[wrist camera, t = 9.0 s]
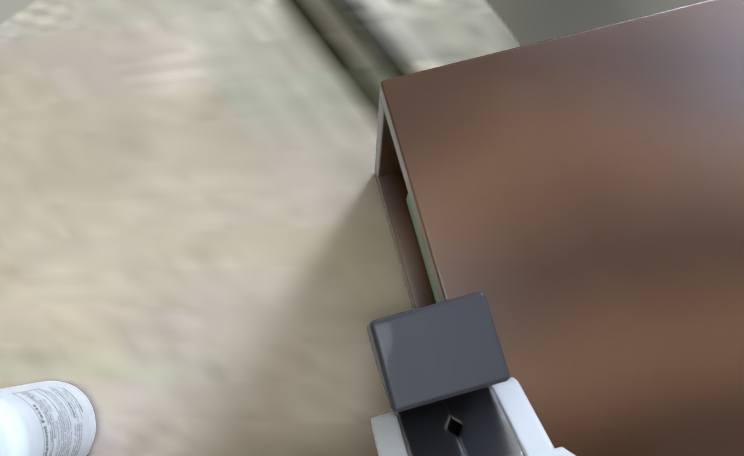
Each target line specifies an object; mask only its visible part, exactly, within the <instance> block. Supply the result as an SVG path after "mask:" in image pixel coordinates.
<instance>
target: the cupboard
mask: <svg viewBox="0 0 744 456" xmlns="http://www.w3.org/2000/svg"><path fill="white" fill-rule="evenodd" d="M375 175H376V179H377V182H378V186H379V189H380V193H381V196H382V200H383V203H384V207H385V211H386V214H387V218H388V221H389V225H390V228H391V232H392V235H393V239H394V242H395V246H396V249H397V253H398V256H399V260H400V264H401V267H402V271H403V274H404V278H405V281H406V285H407V288H408V292H409V295H410V299H411V302H412V306H413V309H417V308H421V307H425V306H428V305H432V304H435V303H436V301H435V298H434V294H433V291H432V287H431V284H430V280H429V277H428V274H427V270H426V267H425V263H424V260H423V256H422V253H421V250H420V246H419V243H418V239H417V236H416V232H415V229H414V226H413V222H412V219H411V215H410V212H409V208H408V205H407V202H406V198H407V195H408V194H409V197H410V200H411V204H412V207H413V211H414V214H415V218H416V221H417V224H418V228H419V231H420V235H421V238H422V241H423V245H424V248H425V252H426V255H427V259H428V262H429V265H430V269H431V272H432V276H433V279H434V282H435V286H436V289H437V293H438V296H439V299H440V302H443V301H446V300H450V299H454V298H457V297H461V296H464V295H468V294H472V293H475V292H483V293H484V294H485V296H486V299H487V302H488V305H489V308H490V312H491V315H492V318H493V321H494V325H495V328H496V331H497V334H498V338H499V341H500V344H501V347H502V351H503V354H504V357H505V360H506V363H507V367H508V370H509V373H510V378H511V377H514V378H515V379H516V380H517V381H518V382H519V384H520V386H521V388H522V389H523V391H524V393H525V395H526V397H527V399H528V401H529V402H530V404H531V406H532V408H533V410H534V412H535V413H536V415H537V417H538V419H539V421H540V423H541V424H542V426H543V428H544V430H545V432H546V434H547V435H548V437H549V439H550V441H551V443H552V445H553V446H554V448H558V447H563V448H565V449H566V450H568V451H570V452H571V453H573V454H574V455H576V456H744V0H707V1H703V2H699V3H695V4H691V5H687V6H683V7H679V8H675V9H671V10H667V11H663V12H659V13H655V14H651V15H646V16H643V17H638V18H634V19H631V20H626V21H622V22H618V23H614V24H610V25H606V26H602V27H598V28H594V29H590V30H586V31H582V32H578V33H574V34H570V35H566V36H562V37H558V38H554V39H549V40H545V41H541V42H537V43H534V44H530V45H525V46H521V47H517V48H513V49H509V50H505V51H501V52H497V53H493V54H489V55H485V56H481V57H477V58H473V59H469V60H465V61H461V62H457V63H452V64H448V65H444V66H440V67H436V68H432V69H428V70H424V71H420V72H416V73H412V74H408V75H404V76H400V77H396V78H392V79H388V80H384V81H381V83H380V96H379V112H378V128H377V144H376V160H375Z"/></svg>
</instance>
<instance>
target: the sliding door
mask: <svg viewBox="0 0 744 456" xmlns="http://www.w3.org/2000/svg"><path fill="white" fill-rule="evenodd" d="M406 202H407V205H408V208H409V212H410V215H411V219H412V222H413V226H414V229H415V232H416V236H417V239H418V243H419V246H420V250H421V253H422V256H423V260H424V263H425V267H426V270H427V274H428V277H429V280H430V284H431V287H432V291H433V294H434V298H435V301H436V303H435V304H432V305H428V306H425V307H421V308H417V309H414V310H410V311H406V312H403V313H399V314H396V315H392V316H388V317H385V318H381V319H377V320H374V321H373V322H371V323H370V324H369V325H368V327H367V331H368V334H369V338H370V342H371V346H372V349H373V353H374V357H375V361H376V364H377V367H378V370H379V373H380V376H381V379H382V382H383V385H384V388H385V391H386V394H387V397H388V399H389V402H390V405H391V408H392V410H393V411H394V412H401V411H405V410H408V409H412V408H415V407H418V406H422V405H425V404H429V403H432V402H436V401H439V400H443V399H446V398H450V397H453V396H457V395H460V394H464V393H467V392H471V391H474V390H478V389H481V388H485V387H488V386H491V385H495V384H498V383H502V382H505V381H507V380H508V379H509V378H510V373H509V370H508V367H507V363H506V360H505V357H504V354H503V351H502V347H501V344H500V341H499V338H498V334H497V331H496V328H495V325H494V321H493V318H492V315H491V312H490V308H489V305H488V302H487V299H486V296H485V294H484V293H483V292H475V293H472V294H468V295H464V296H461V297H457V298H454V299H450V300H446V301H443V302H440V299H439V296H438V293H437V289H436V286H435V282H434V279H433V276H432V272H431V269H430V265H429V262H428V259H427V255H426V252H425V248H424V245H423V241H422V238H421V235H420V231H419V228H418V224H417V221H416V218H415V214H414V211H413V207H412V204H411V200H410V197H409V194H408V195H407V198H406Z"/></svg>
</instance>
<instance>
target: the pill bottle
mask: <svg viewBox="0 0 744 456" xmlns="http://www.w3.org/2000/svg"><path fill="white" fill-rule="evenodd" d="M95 433H96V419H95V414H94V411H93V407H92V405H91V403H90V401H89V400H88V398H87V397H86V396H85V395H84V394H83V393H82V392H81V391H80V390H79V389H78V388H77V387H75V386H73V385H71V384H68V383H65V382H61V381H43V382H37V383H31V384H25V385H19V386H13V387H7V388H1V389H0V456H87V455H88V453H89V451H90V449H91V447H92V444H93V441H94V438H95Z"/></svg>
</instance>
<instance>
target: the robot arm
mask: <svg viewBox="0 0 744 456" xmlns="http://www.w3.org/2000/svg"><path fill="white" fill-rule="evenodd" d="M396 415H397V416H396ZM371 425H372V430H373V435H374V439H375V443H376V448H377V452H378V456H576V455H574V454H573V453H571V452H570V451H568V450H566V449H565V448H563V447H558V448H554V446H553V445H552V443H551V441H550V439H549V437H548V435H547V434H546V432H545V430H544V428H543V426H542V424H541V423H540V421H539V419H538V417H537V415H536V413H535V412H534V410H533V408H532V406H531V404H530V402H529V401H528V399H527V397H526V395H525V393H524V391H523V389H522V388H521V386H520V384H519V382H518V381H517V380H516V379H515V378H514V377H511V378H509V379H508V380H507V381H505V382H502V383H498V384H495V385H491V386H488V387H485V388H481V389H478V390H474V391H471V392H467V393H464V394H460V395H457V396H453V397H450V398H446V399H443V400H439V401H436V402H432V403H429V404H425V405H422V406H418V407H415V408H412V409H408V410H405V411H401V412H396V413H395V412H390V413H387V414H383V415H380V416H376V417H373V418H371Z"/></svg>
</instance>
